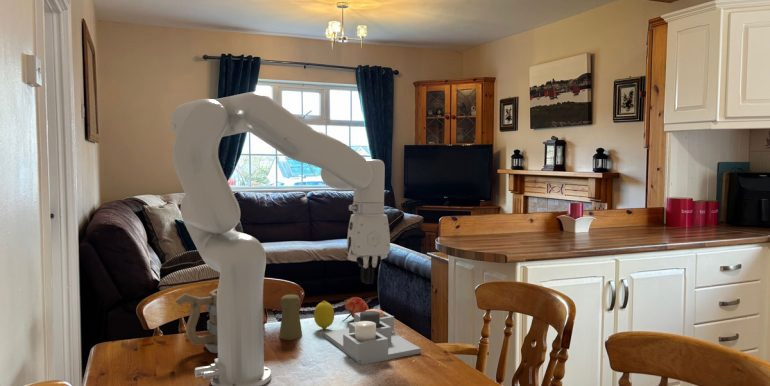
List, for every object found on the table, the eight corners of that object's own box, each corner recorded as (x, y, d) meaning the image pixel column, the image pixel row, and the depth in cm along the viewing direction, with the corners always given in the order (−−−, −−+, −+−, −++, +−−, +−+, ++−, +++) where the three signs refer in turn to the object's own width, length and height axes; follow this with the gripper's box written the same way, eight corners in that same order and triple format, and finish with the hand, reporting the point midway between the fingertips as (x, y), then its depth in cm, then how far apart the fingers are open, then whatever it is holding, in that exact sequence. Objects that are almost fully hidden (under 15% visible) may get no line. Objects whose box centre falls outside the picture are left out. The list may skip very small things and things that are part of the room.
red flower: (350, 333, 160) (377, 311, 161) (334, 313, 160) (361, 290, 161) (349, 328, 167) (375, 306, 168) (333, 309, 167) (360, 287, 168)
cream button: (360, 345, 132) (360, 328, 131) (351, 339, 136) (351, 322, 136) (379, 342, 134) (379, 325, 134) (370, 336, 138) (370, 320, 138)
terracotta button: (369, 330, 150) (369, 315, 149) (361, 325, 154) (361, 310, 154) (386, 327, 152) (386, 312, 152) (377, 322, 156) (377, 308, 156)
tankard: (248, 334, 152) (247, 279, 151) (265, 347, 142) (264, 288, 141) (170, 347, 142) (169, 288, 141) (182, 363, 131) (181, 299, 130)
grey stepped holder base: (357, 365, 130) (357, 344, 129) (319, 336, 150) (319, 318, 150) (424, 352, 138) (424, 332, 138) (380, 327, 159) (380, 309, 158)
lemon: (331, 333, 153) (330, 304, 153) (311, 331, 154) (311, 303, 154) (336, 327, 159) (336, 298, 158) (317, 325, 160) (317, 297, 159)
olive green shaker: (276, 334, 152) (276, 294, 152) (298, 331, 155) (298, 291, 154) (282, 341, 147) (282, 299, 146) (305, 337, 149) (304, 296, 149)
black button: (365, 333, 140) (365, 317, 140) (356, 327, 145) (356, 312, 145) (383, 330, 143) (383, 314, 143) (374, 324, 147) (374, 309, 147)
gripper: (348, 211, 133) (347, 288, 134) (402, 209, 140) (400, 283, 141) (334, 208, 139) (333, 282, 140) (386, 207, 147) (385, 277, 148)
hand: (367, 282), depth 141 cm, fingers closed
